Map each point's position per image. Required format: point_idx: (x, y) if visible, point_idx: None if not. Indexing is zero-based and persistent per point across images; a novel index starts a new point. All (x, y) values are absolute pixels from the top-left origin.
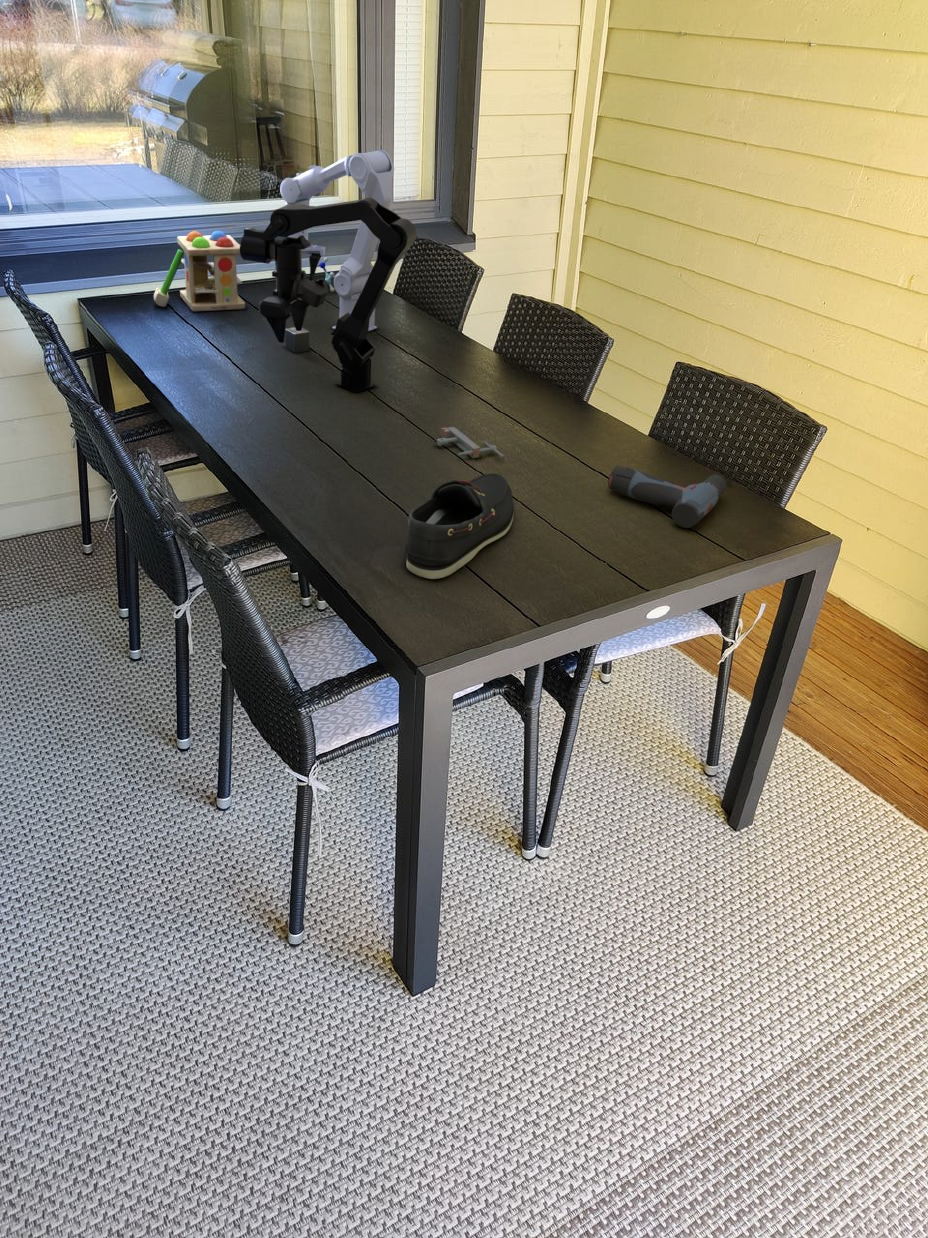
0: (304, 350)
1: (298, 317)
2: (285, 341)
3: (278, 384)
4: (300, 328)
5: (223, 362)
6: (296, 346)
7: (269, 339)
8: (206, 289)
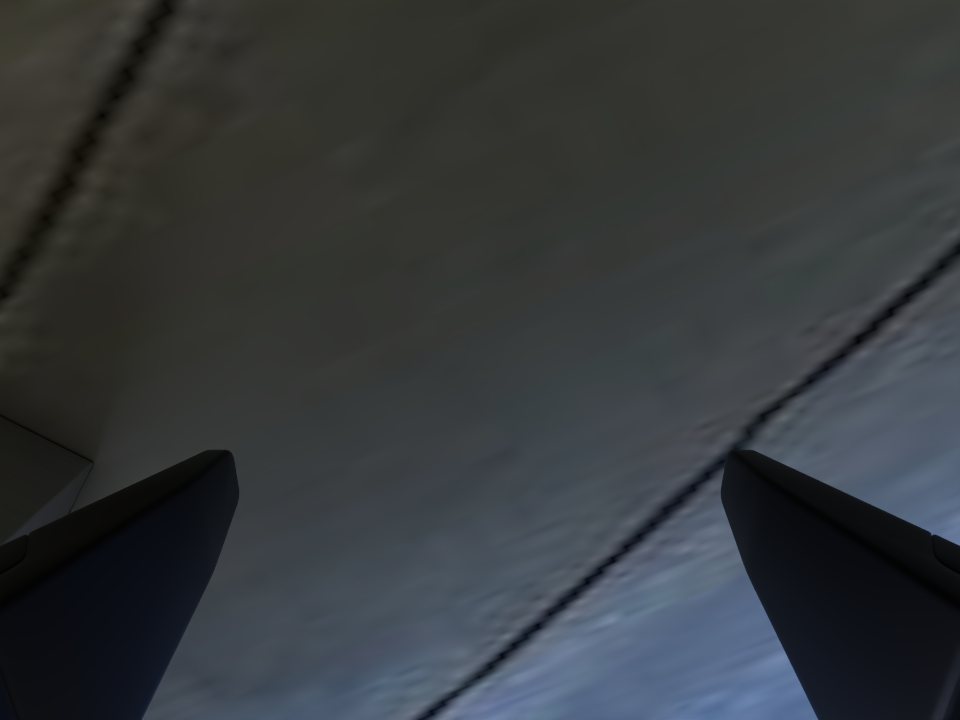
0: (13, 426)
1: (138, 593)
2: None
3: (711, 310)
4: (219, 464)
5: (502, 711)
6: (52, 481)
7: None
8: None
